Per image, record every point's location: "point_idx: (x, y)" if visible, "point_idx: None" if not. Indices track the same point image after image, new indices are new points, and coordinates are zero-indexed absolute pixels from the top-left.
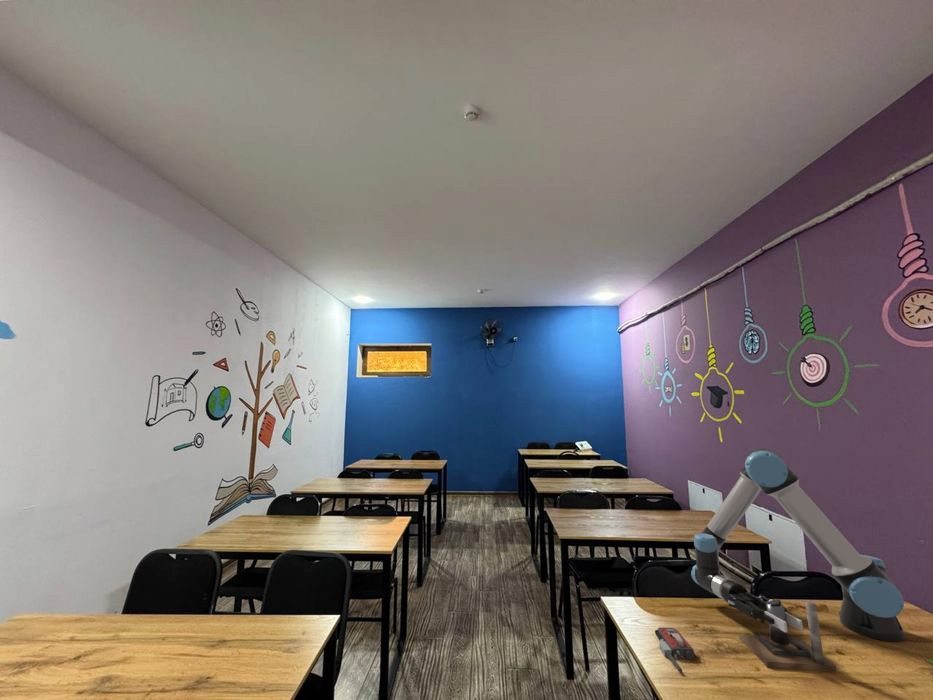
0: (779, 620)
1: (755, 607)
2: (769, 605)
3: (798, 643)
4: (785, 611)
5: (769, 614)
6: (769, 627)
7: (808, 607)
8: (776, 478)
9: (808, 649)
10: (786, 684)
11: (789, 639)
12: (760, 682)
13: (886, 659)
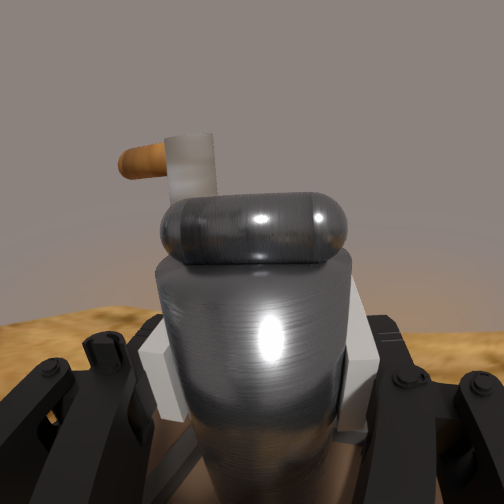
0: (351, 280)
1: (421, 455)
2: (342, 254)
3: (180, 441)
4: (82, 375)
5: (367, 323)
6: (326, 458)
7: (213, 150)
8: None
9: (158, 433)
10: (430, 352)
11: (166, 488)
12: (495, 355)
13: (14, 353)
